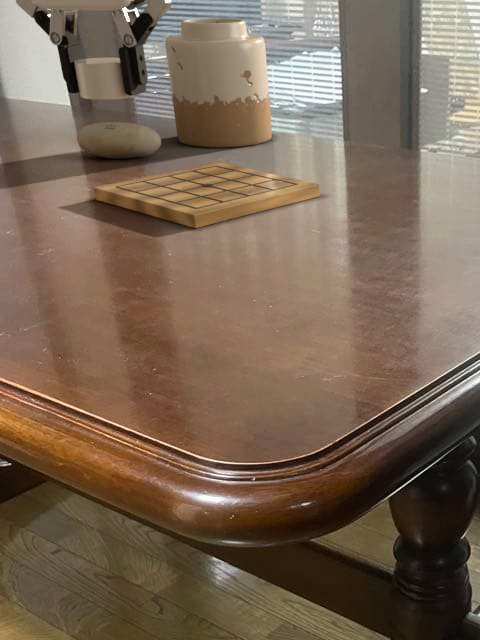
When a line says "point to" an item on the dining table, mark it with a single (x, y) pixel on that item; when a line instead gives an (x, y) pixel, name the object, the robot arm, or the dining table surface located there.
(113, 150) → the stone
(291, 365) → the dining table surface
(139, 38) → the robot arm
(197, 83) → the vase
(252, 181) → the board
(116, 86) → the cylinder
